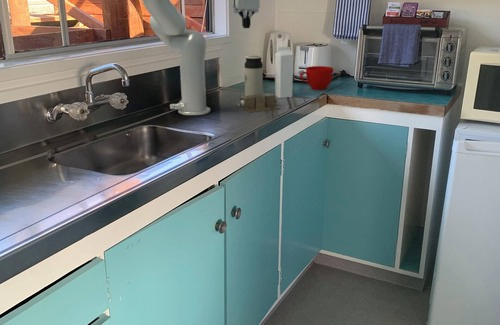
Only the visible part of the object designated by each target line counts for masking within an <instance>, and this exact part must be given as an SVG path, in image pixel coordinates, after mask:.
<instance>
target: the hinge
mask: <svg viewBox="0 0 500 325" xmlns="http://www.w3.org/2000/svg"><path fill="white" fill-rule="evenodd" d="M241 100H244V106H241V104H240V103H239V104H236V105H235V106H236V108H239V109H241V110H242V111H245V112H247V113H250V114H251V113H256V112H257V113H258V112H264V111H274V110H280V109H281V107H280V106H278V105H277V103H276V95H275V93H271V92H270V93H269V92H268V93H263V94H257V95H251V96H250V95H248V96H245V95H241V96H239V102H240V101H241Z"/></svg>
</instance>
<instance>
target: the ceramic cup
mask: <svg viewBox="0 0 500 325" xmlns="http://www.w3.org/2000/svg"><path fill="white" fill-rule="evenodd" d="M303 74H305V75H306V76H305V77H306V80H305V79H304V78H303ZM333 75H334V68H333V67H331V66H325V65H318V66H317V65H314V66H313V65H312V66H307V67H306V68H305V71H302V72H300V76H299V77H300V80H301V81H302V82H304V83H306V84H308V86H310V89H312V90H315V91H325V90H326V89H327V88H328V87H329V85H331V82H332V80H333Z"/></svg>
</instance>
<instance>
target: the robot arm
mask: <svg viewBox="0 0 500 325" xmlns="http://www.w3.org/2000/svg"><path fill="white" fill-rule="evenodd" d="M260 2H261V1H260V0H233V1H232V6H233V14H236V15H237V14H238V15H239V16H240V18H241V24H242V25H241V26H242V28H243V29H251V19H252V17H253V15H254V14H257V13H259V9H260V6H261V5H260V4H261V3H260ZM142 4H143V6H144V8H145V9H146V11H147V12H148V13H149V14H150V16H149V25H150V28H151V30H152V31H153V32H154V34H155V35H156V36H157V37H158V38H159V39H160V40H161V42H163V44H164V45H165V46H166V47H167V48H169V50H171V51H172V52H173V53H175V54H180V55H181V59H180V63H179V71H180V72H179V74H180V91H181V100H179V102H177V103H170V104H169V108H170V110H174V109H175V110H178V114H180V115H184V116H201V115H206V114H209V113H210V112H211V108H210V107H208V106H207V96H206V92H207V91H206V73H205V72H206V68H205V67H206V65H205V64H206V63H205V60H206V59H205V58H206V52H207V40H206V38H205V36H204V35H203V34H202V33H201V32H200V31H197V30H192V29H186V28H187V22H186V19H185V17H184V15H183V14H182V13H181V12H180V10H179V9H177V7H176V6H175V5H174V4H173V3H172V1H171V0H142Z"/></svg>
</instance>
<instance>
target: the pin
mask: <svg viewBox="0 0 500 325" xmlns="http://www.w3.org/2000/svg"><path fill="white" fill-rule="evenodd" d="M278 102H279V97H277V96H276V104H278ZM239 104H241V106H244V100H241V101H240V100H239Z"/></svg>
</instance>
